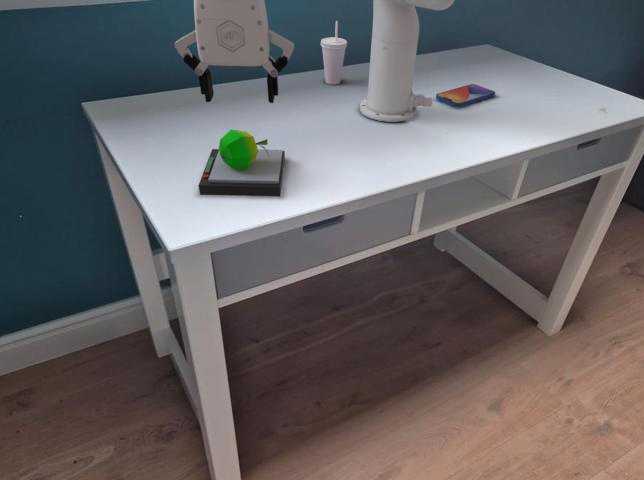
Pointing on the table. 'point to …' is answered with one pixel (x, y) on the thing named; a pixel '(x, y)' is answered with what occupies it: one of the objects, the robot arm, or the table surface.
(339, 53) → the smoothie
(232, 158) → the apple
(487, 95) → the smartphone
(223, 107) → the table surface
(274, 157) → the scale
